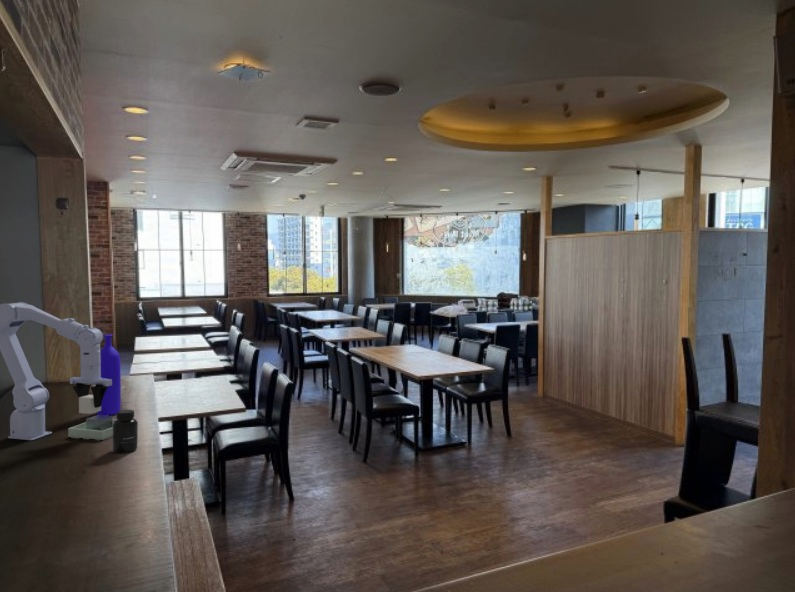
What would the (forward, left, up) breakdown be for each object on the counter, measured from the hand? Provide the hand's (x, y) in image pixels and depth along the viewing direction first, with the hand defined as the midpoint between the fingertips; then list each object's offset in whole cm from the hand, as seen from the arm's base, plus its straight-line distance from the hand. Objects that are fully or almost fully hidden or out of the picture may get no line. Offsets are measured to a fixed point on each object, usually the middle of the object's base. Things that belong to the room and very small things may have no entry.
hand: (91, 406), depth 181 cm
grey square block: (0, +3, -9) cm, 10 cm away
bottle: (-15, +26, -10) cm, 31 cm away
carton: (0, 0, -2) cm, 2 cm away
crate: (0, +3, -10) cm, 10 cm away
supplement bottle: (+20, -9, -10) cm, 24 cm away
